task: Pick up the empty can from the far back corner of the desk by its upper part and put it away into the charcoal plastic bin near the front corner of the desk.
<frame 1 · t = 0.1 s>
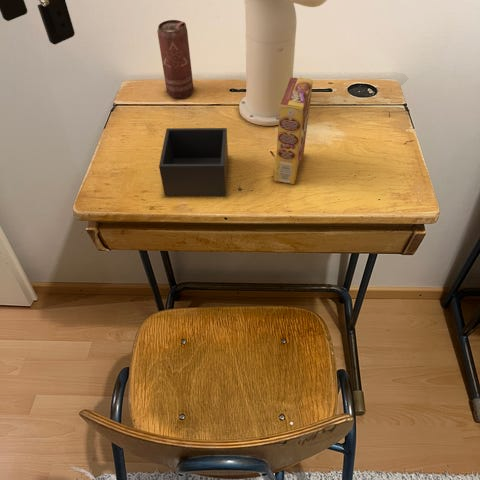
hand: (38, 27, 56), 31 cm above the table, tool pointing down, fingers open, 9 cm apart
bin: (197, 176, 88), on the table
can: (181, 93, 105), on the table
candy box: (289, 169, 89), on the table
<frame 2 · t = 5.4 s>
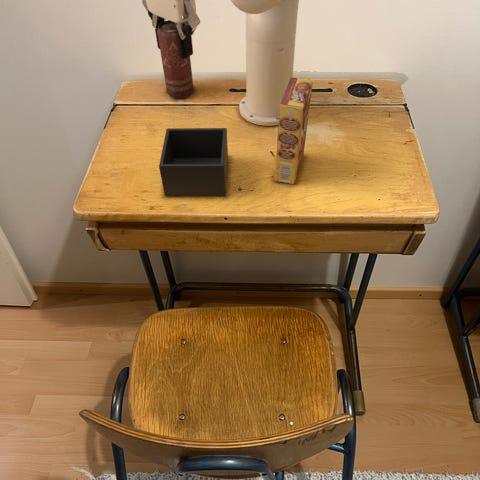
hand: (175, 50, 98), 9 cm above the table, tool pointing down, fingers closed on can, 6 cm apart
can: (181, 93, 105), on the table, touching gripper
everything else where it was.
when the fingers open (10 cm above the table, at t = 14.5 s): can stays where it is, resting on bin.
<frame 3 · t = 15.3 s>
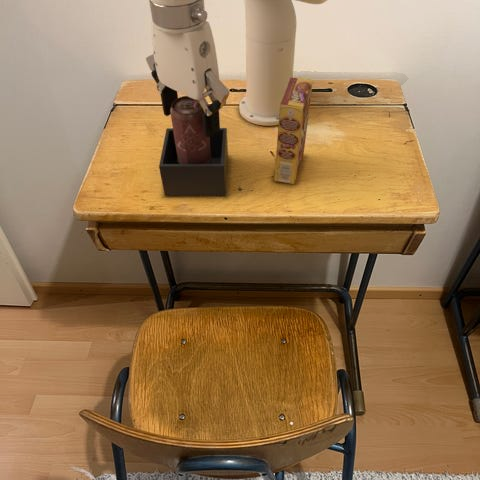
hand: (191, 122, 79), 11 cm above the table, tool pointing down, fingers open, 9 cm apart
can: (197, 175, 88), resting on bin
everything else where it was.
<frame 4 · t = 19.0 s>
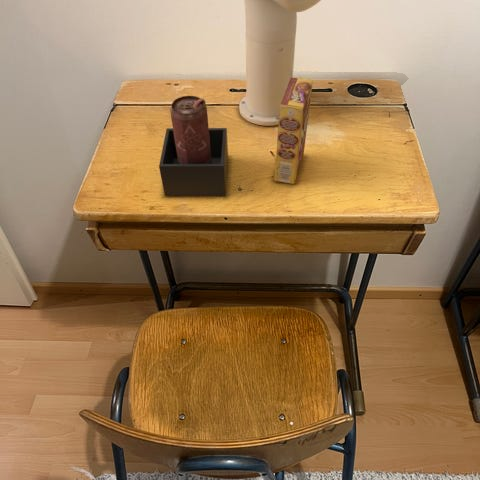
nothing on the table moved.
at the end: can 0.1 cm off-centre in the bin, point 0.4 cm above the bin's base; the gripper is holding nothing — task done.
